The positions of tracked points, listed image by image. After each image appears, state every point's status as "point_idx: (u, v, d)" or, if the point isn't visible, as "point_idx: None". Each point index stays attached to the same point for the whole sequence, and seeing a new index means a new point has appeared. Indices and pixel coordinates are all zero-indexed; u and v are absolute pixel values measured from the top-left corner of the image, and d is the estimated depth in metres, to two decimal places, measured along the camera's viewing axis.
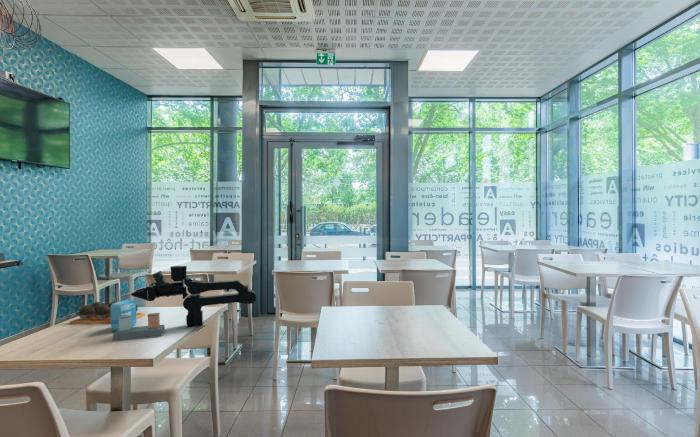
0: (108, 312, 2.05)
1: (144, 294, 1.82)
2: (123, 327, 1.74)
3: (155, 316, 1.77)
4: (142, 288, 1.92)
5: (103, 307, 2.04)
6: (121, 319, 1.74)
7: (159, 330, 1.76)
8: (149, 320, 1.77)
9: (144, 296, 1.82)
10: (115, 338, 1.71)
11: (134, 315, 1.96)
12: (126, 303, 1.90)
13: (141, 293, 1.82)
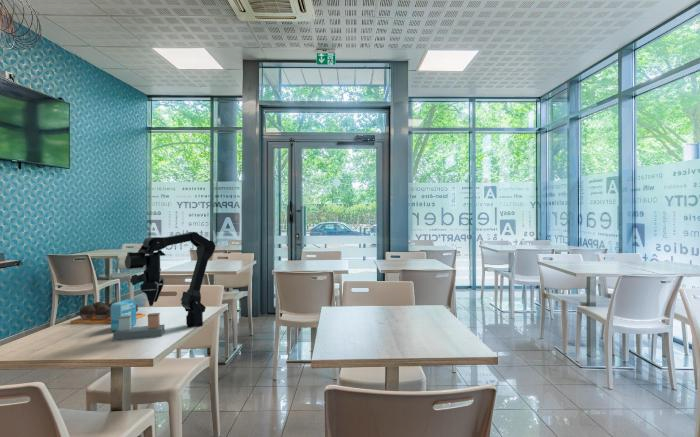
0: (108, 312, 2.05)
1: (151, 293, 1.73)
2: (123, 327, 1.74)
3: (155, 316, 1.77)
4: None
5: (103, 307, 2.04)
6: (121, 319, 1.74)
7: (159, 330, 1.76)
8: (149, 320, 1.77)
9: (153, 293, 1.73)
10: (115, 338, 1.71)
11: (134, 315, 1.96)
12: (126, 303, 1.90)
13: (149, 296, 1.73)
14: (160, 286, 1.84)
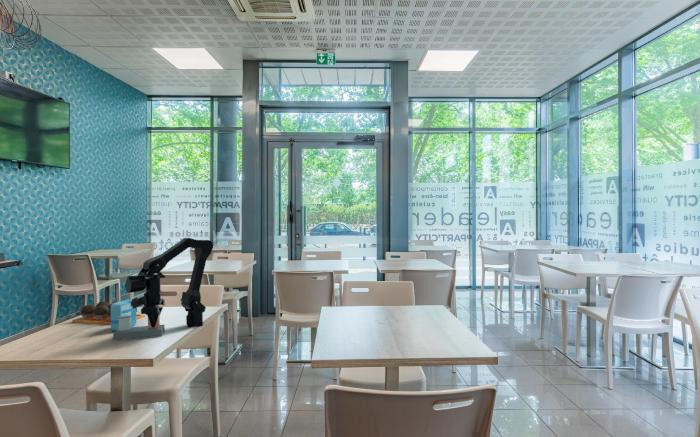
0: (105, 313, 2.04)
1: (153, 314, 1.76)
2: (123, 327, 1.74)
3: None
4: None
5: (101, 307, 2.04)
6: (121, 319, 1.74)
7: (159, 330, 1.76)
8: (149, 320, 1.77)
9: (155, 314, 1.76)
10: (115, 338, 1.71)
11: (134, 315, 1.96)
12: (126, 303, 1.90)
13: (151, 317, 1.76)
14: (159, 309, 1.81)
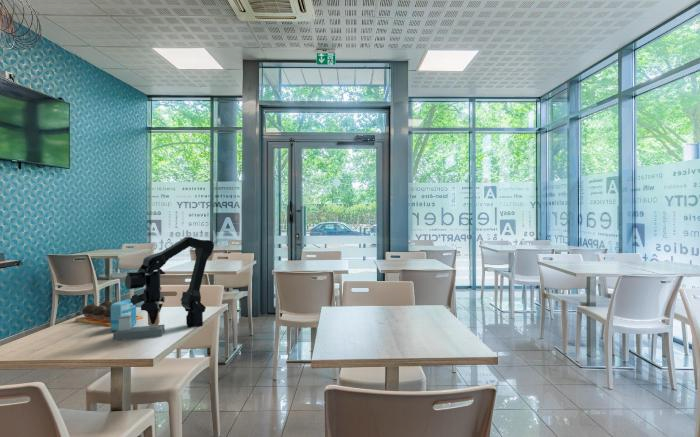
0: (103, 313, 2.03)
1: (153, 311, 1.76)
2: (123, 327, 1.74)
3: None
4: None
5: (98, 307, 2.03)
6: (121, 319, 1.74)
7: (159, 330, 1.76)
8: (149, 317, 1.77)
9: (155, 311, 1.76)
10: (115, 338, 1.71)
11: (134, 315, 1.96)
12: (126, 303, 1.90)
13: (151, 314, 1.76)
14: (159, 306, 1.81)
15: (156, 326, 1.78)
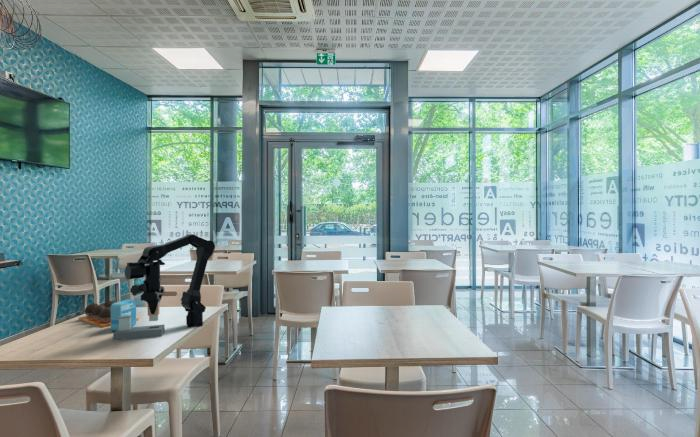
0: None
1: (153, 301, 1.76)
2: (123, 327, 1.74)
3: None
4: None
5: (97, 307, 2.03)
6: (121, 319, 1.74)
7: (159, 330, 1.76)
8: None
9: (155, 301, 1.76)
10: (115, 338, 1.71)
11: (134, 315, 1.96)
12: (126, 303, 1.90)
13: (151, 304, 1.76)
14: (159, 296, 1.81)
15: (156, 317, 1.78)
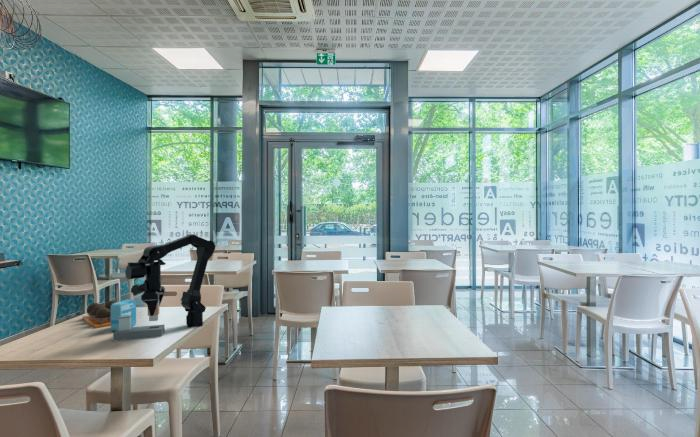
0: None
1: (152, 303, 1.73)
2: (123, 327, 1.74)
3: None
4: None
5: (95, 307, 2.03)
6: (121, 319, 1.74)
7: (159, 330, 1.76)
8: None
9: (154, 303, 1.73)
10: (115, 338, 1.71)
11: (134, 315, 1.96)
12: (126, 303, 1.90)
13: (150, 306, 1.73)
14: (161, 295, 1.84)
15: (156, 316, 1.78)
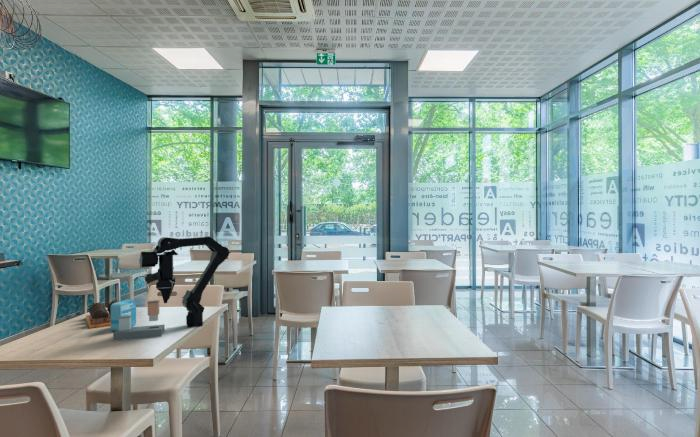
0: None
1: (165, 291, 1.81)
2: (123, 327, 1.74)
3: (155, 303, 1.77)
4: None
5: (94, 307, 2.04)
6: (121, 319, 1.74)
7: (159, 330, 1.76)
8: (149, 307, 1.77)
9: (167, 290, 1.81)
10: (115, 338, 1.71)
11: (134, 315, 1.96)
12: (126, 303, 1.90)
13: (164, 293, 1.81)
14: (172, 284, 1.92)
15: (156, 316, 1.78)
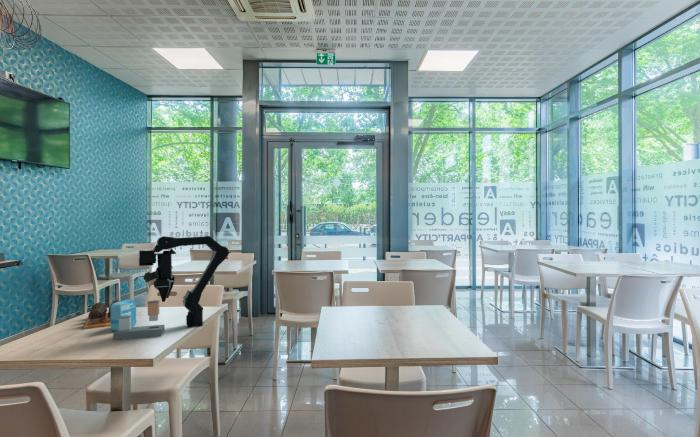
0: None
1: (163, 289, 1.82)
2: (123, 327, 1.74)
3: (155, 303, 1.77)
4: None
5: (93, 307, 2.04)
6: (121, 319, 1.74)
7: (159, 330, 1.76)
8: (149, 307, 1.77)
9: (165, 289, 1.82)
10: (115, 338, 1.71)
11: (134, 315, 1.96)
12: (126, 303, 1.90)
13: (162, 292, 1.82)
14: (171, 283, 1.93)
15: (156, 316, 1.78)
